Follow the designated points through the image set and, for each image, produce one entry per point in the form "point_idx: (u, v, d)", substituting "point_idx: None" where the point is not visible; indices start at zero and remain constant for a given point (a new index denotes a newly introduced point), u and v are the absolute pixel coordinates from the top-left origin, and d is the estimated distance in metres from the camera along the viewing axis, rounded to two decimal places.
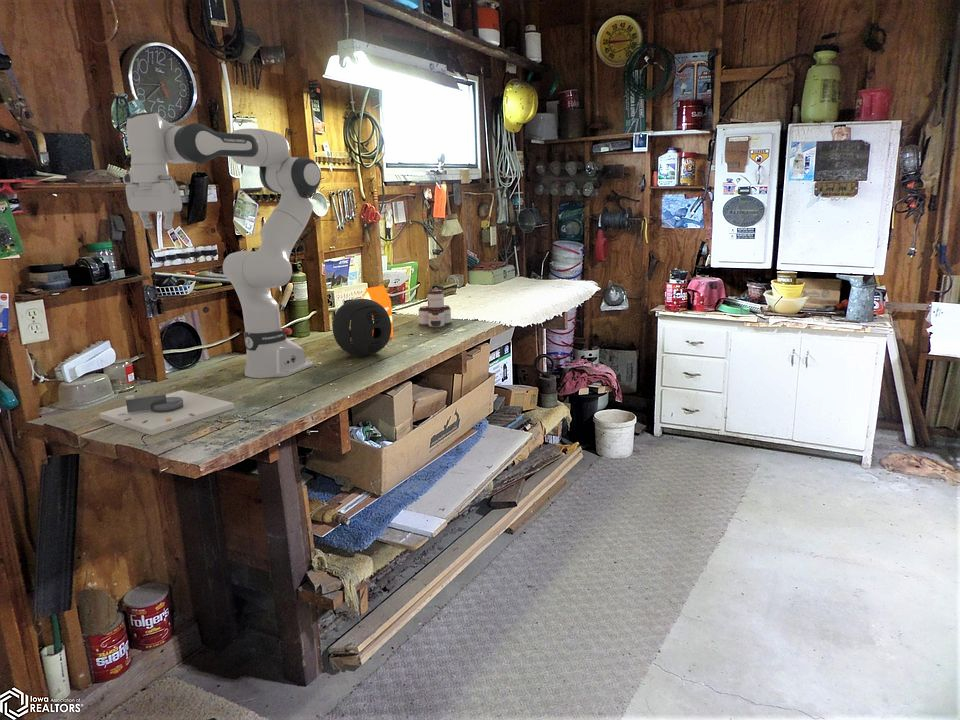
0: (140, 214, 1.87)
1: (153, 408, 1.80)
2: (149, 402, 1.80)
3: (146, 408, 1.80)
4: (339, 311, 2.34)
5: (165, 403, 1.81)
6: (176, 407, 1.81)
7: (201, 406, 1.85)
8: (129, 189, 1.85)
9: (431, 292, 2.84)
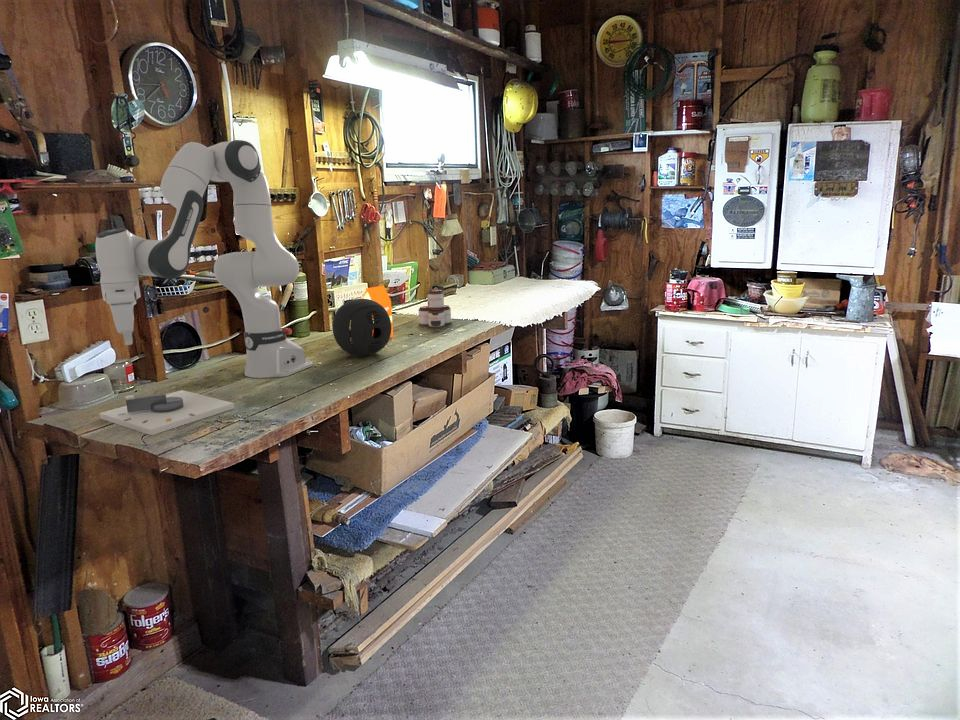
0: None
1: (153, 408, 1.80)
2: (149, 402, 1.80)
3: (146, 408, 1.80)
4: (339, 311, 2.34)
5: (165, 403, 1.81)
6: (176, 407, 1.81)
7: (201, 406, 1.85)
8: None
9: (431, 292, 2.84)
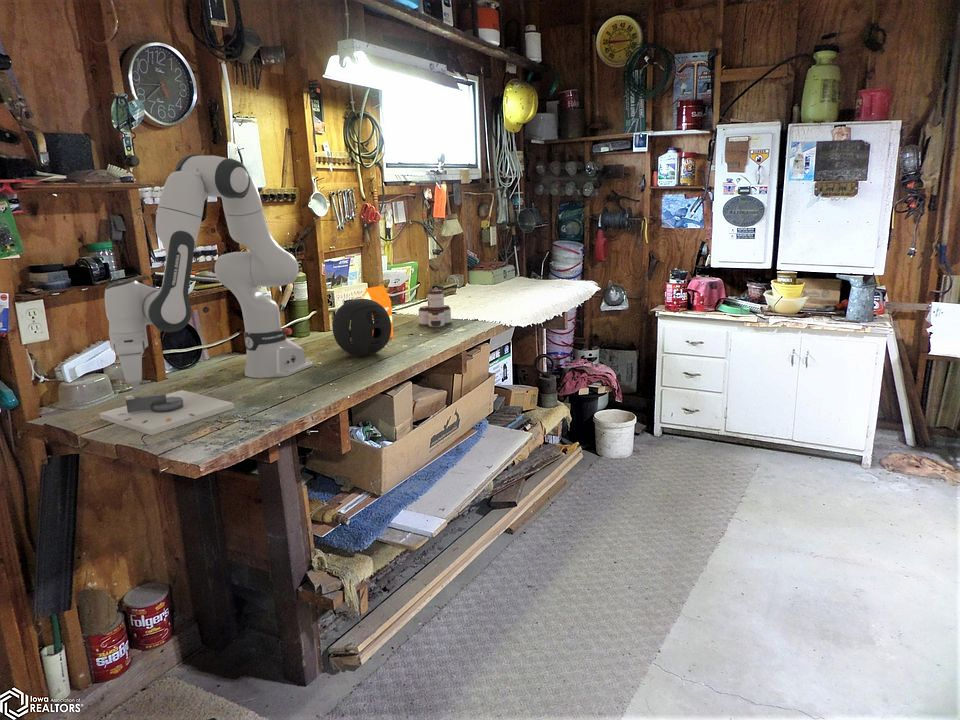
0: None
1: (153, 408, 1.80)
2: (149, 402, 1.80)
3: (146, 408, 1.80)
4: (339, 311, 2.34)
5: (165, 403, 1.81)
6: (176, 407, 1.81)
7: (201, 406, 1.85)
8: None
9: (431, 292, 2.84)
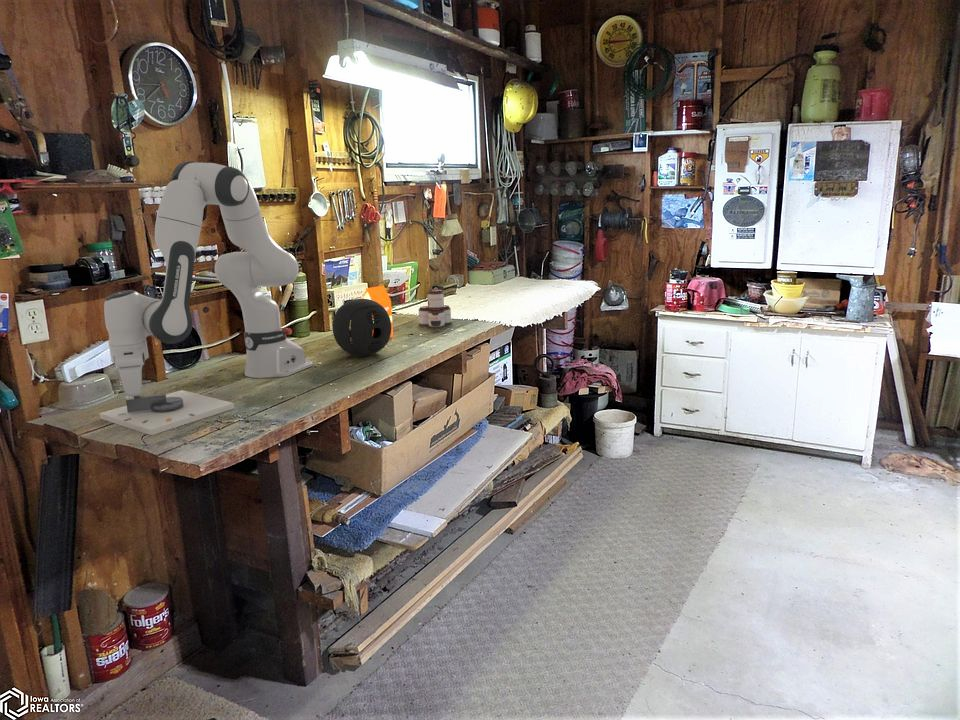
0: None
1: (153, 408, 1.80)
2: (149, 402, 1.80)
3: (146, 408, 1.80)
4: (339, 311, 2.34)
5: (165, 403, 1.81)
6: (176, 407, 1.81)
7: (201, 406, 1.85)
8: None
9: (431, 292, 2.84)
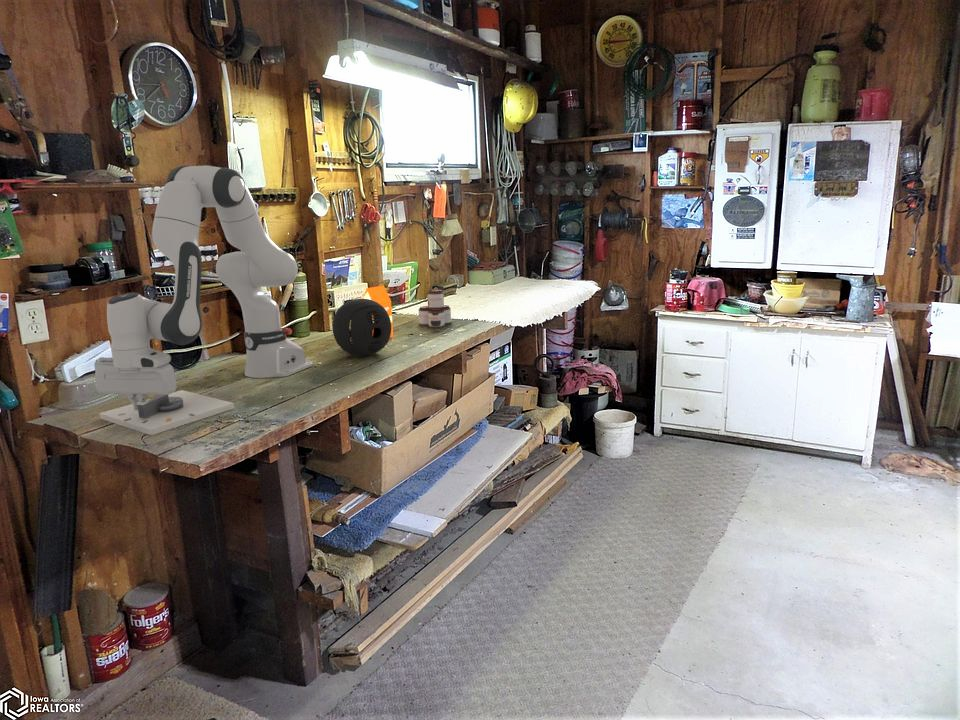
0: None
1: (165, 408, 1.80)
2: (158, 404, 1.79)
3: (156, 410, 1.78)
4: (339, 311, 2.34)
5: (171, 401, 1.82)
6: None
7: (201, 406, 1.85)
8: None
9: (431, 292, 2.84)
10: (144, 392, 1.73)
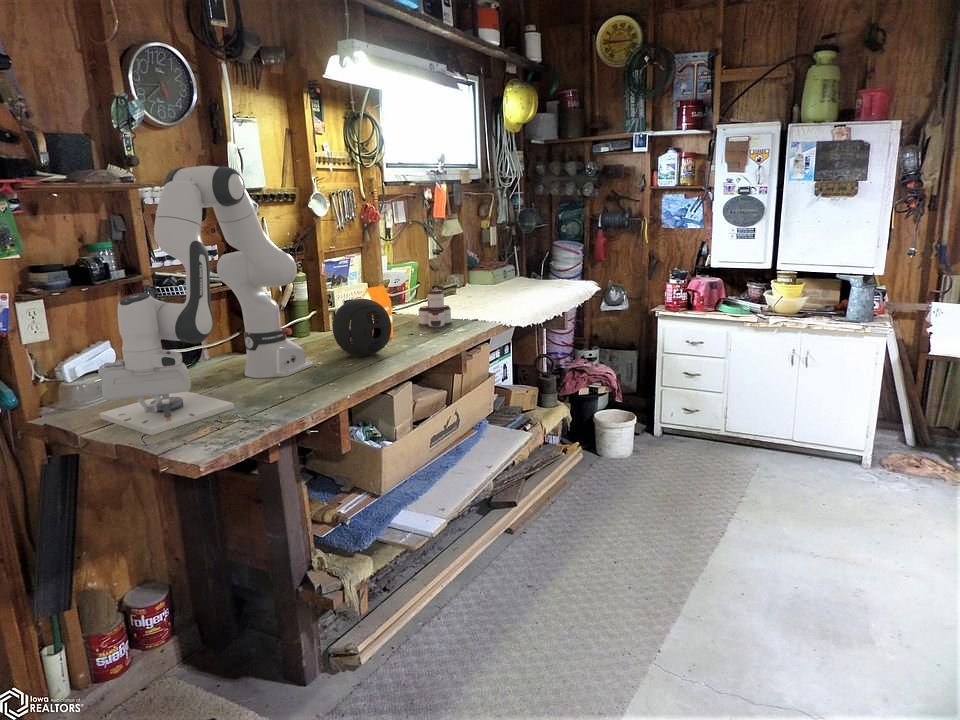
0: None
1: (176, 406, 1.81)
2: (169, 403, 1.80)
3: (170, 409, 1.79)
4: (339, 311, 2.34)
5: (173, 400, 1.84)
6: None
7: (201, 406, 1.85)
8: None
9: (431, 292, 2.84)
10: (162, 392, 1.73)
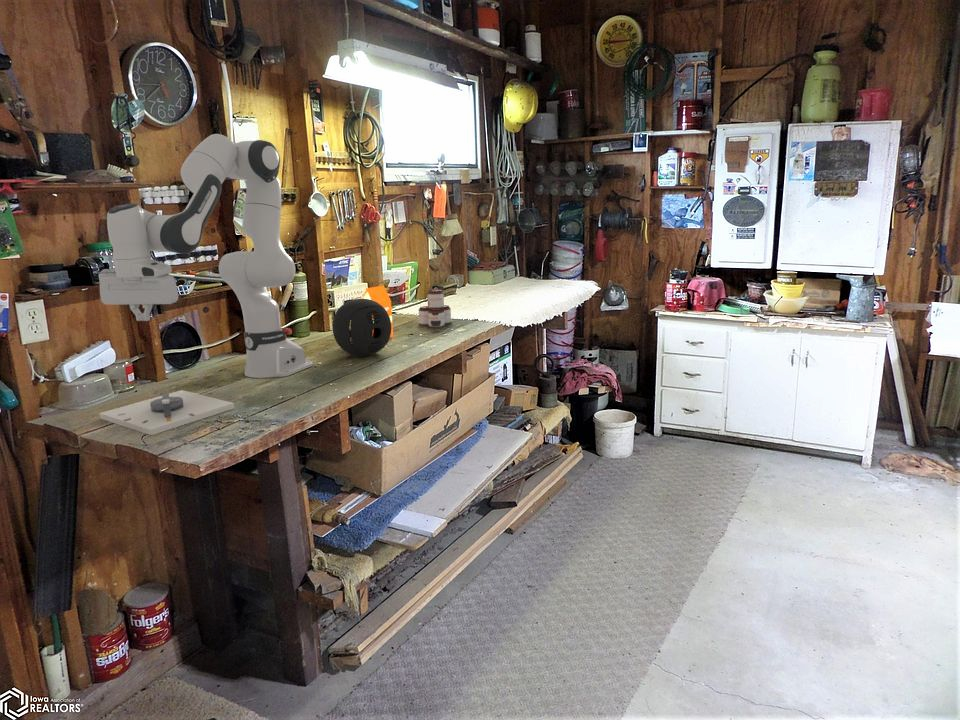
0: None
1: (176, 406, 1.81)
2: (169, 403, 1.80)
3: None
4: (339, 311, 2.34)
5: (173, 400, 1.84)
6: None
7: (201, 406, 1.85)
8: None
9: (431, 292, 2.84)
10: (147, 301, 1.77)
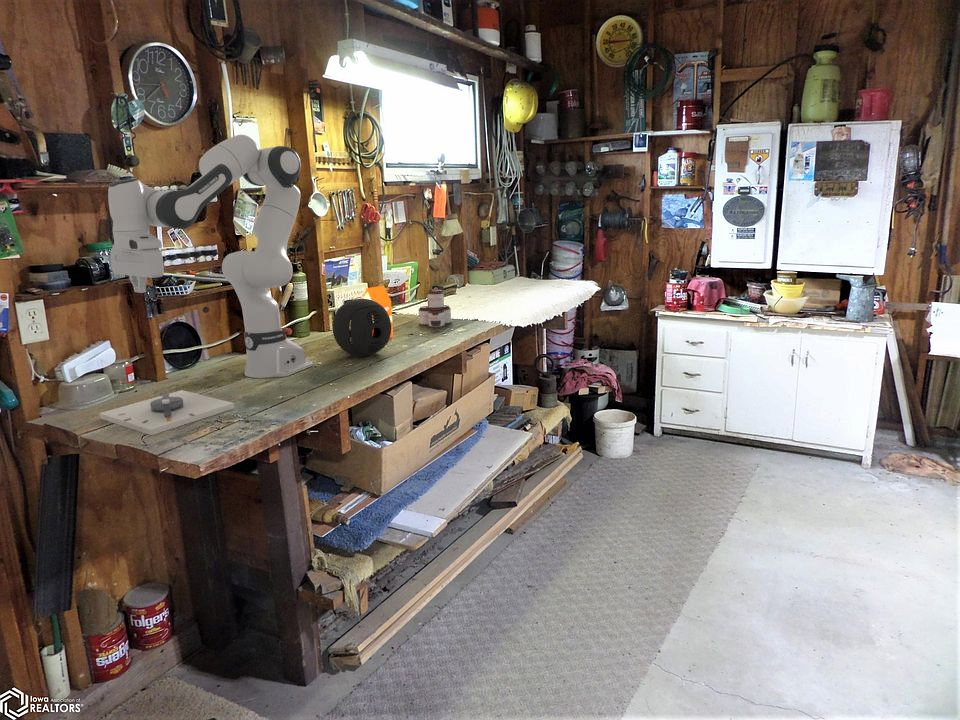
0: None
1: (176, 406, 1.81)
2: (169, 403, 1.80)
3: None
4: (339, 311, 2.34)
5: (173, 400, 1.84)
6: None
7: (201, 406, 1.85)
8: None
9: (431, 292, 2.84)
10: (137, 274, 1.83)
